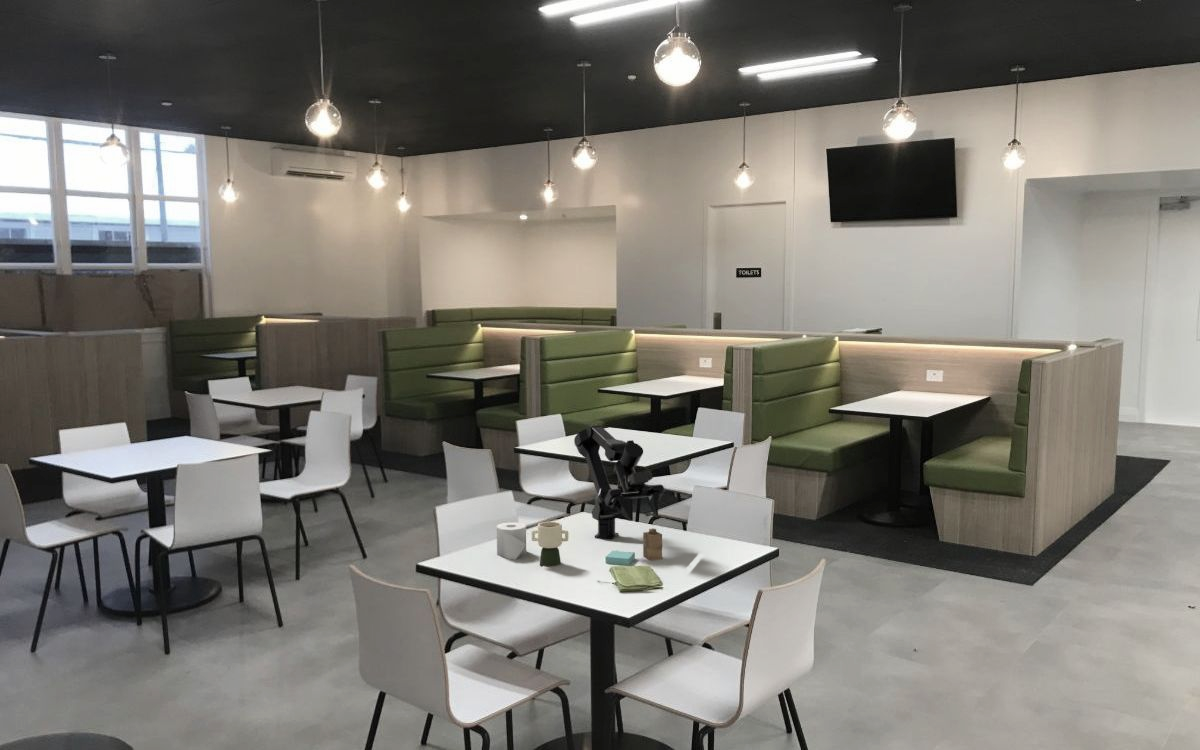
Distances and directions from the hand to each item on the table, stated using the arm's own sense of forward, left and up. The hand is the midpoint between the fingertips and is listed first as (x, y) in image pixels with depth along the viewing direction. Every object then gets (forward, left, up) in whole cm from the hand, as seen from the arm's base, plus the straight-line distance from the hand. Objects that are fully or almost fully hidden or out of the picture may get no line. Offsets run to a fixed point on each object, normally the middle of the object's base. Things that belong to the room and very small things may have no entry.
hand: (643, 518), depth 278 cm
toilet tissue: (+10, -40, -12) cm, 43 cm away
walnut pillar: (+4, +4, -12) cm, 14 cm away
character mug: (+19, -23, -12) cm, 32 cm away
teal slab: (+10, -4, -11) cm, 16 cm away
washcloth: (+24, +5, -13) cm, 28 cm away
